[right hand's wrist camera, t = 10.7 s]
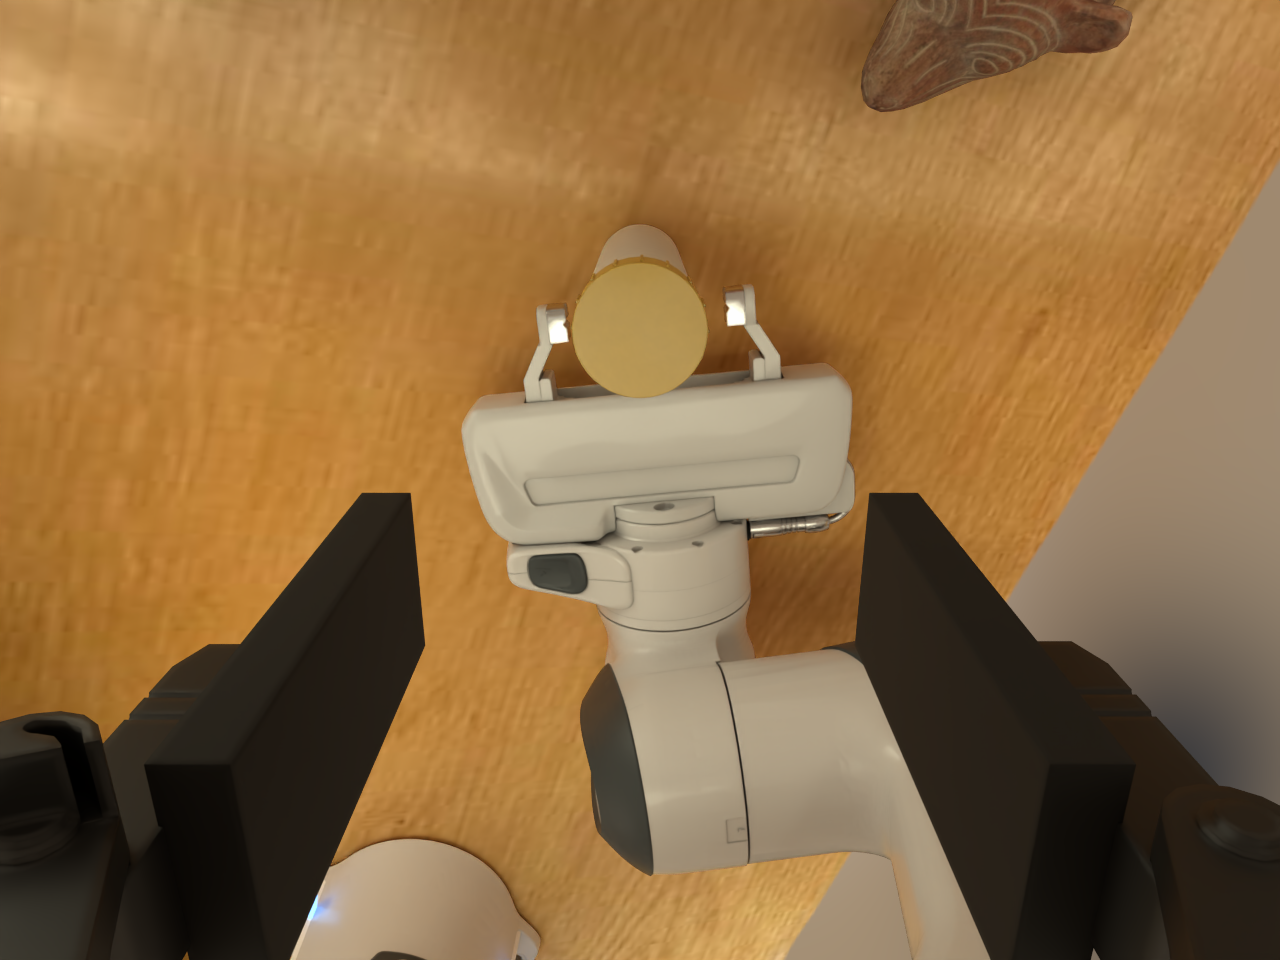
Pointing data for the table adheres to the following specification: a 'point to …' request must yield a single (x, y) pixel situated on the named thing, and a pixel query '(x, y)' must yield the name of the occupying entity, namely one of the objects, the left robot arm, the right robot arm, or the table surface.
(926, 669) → the right robot arm
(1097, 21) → the sculpture
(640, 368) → the lid
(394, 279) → the table surface
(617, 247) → the jar
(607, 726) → the left robot arm
